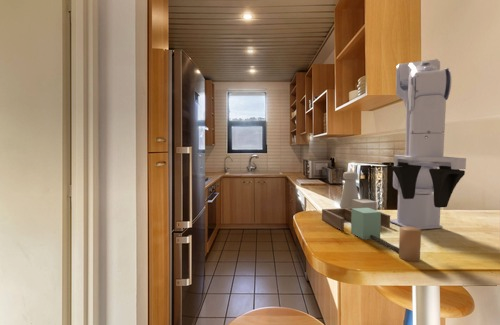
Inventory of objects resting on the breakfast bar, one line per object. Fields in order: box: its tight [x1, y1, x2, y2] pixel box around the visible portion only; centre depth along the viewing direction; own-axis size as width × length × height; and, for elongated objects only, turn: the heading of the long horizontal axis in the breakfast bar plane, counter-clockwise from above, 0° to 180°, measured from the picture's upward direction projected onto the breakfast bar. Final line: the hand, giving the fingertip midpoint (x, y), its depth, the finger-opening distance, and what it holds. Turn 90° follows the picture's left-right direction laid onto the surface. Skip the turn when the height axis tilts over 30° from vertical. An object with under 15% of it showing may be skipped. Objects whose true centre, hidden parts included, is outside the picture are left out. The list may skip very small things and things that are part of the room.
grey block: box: [352, 198, 378, 211], centre depth 73 cm, size 4×4×6 cm
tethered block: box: [350, 208, 422, 263], centre depth 56 cm, size 4×17×6 cm, turn 12°
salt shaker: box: [339, 171, 360, 208], centre depth 82 cm, size 6×6×13 cm
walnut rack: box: [321, 207, 391, 231], centre depth 72 cm, size 14×10×3 cm
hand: (423, 202), depth 53 cm, fingers open, 7 cm apart
